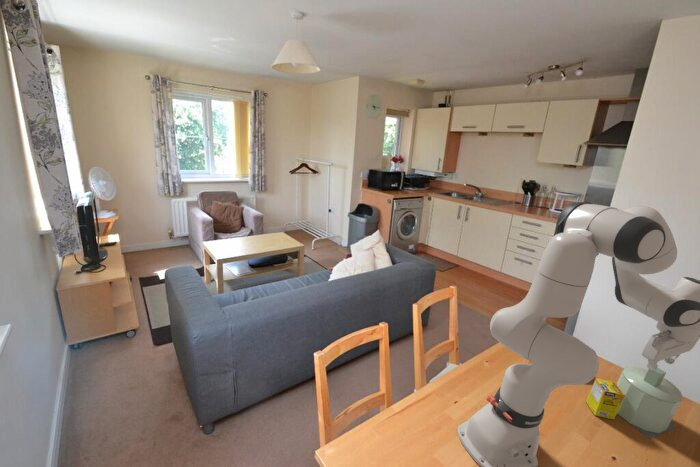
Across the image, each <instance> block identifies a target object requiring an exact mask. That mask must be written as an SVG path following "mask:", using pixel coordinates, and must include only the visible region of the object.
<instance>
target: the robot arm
mask: <svg viewBox="0 0 700 467" xmlns="http://www.w3.org/2000/svg"><path fill="white" fill-rule="evenodd" d="M555 227H556V232H555V233H556V234H555V235H553V236H552V237H551V238H550V240H549V242H548V243H547V246H546V247H545V249H544V251H543V253H542V256H541V257H540V260H539V262H538V265H537V268H536V271H535V274H534V277H533V280H532V283H531V284H530V288H529V290H528V292H527V293H526V295H525V297H524V298H523V299H522V300H521V301H520V302H518V303H516V304H515V305H512V306H508V307H503V308H501V309H498V310H497V311H496V312H495V313H494V314H493V316H492V317H491V320H490V323H489V328H490V329H489V330H490V334H491V336H492V337H493V338H494V339H495V340H497V341H498V343H500V344H501V345H502V346H504V347H505V348H506V349H508V350H509V351H512V352H513V353H515V354H517V355H518V356H520V357H522V358H523V359H525V360H527V361H528V362H529V363H531V364H529V363H514V364H511V365H510V366H508V367H507V369H506V370H505V372H504V375H503V379H502V381H501V385H500V386H499V388H498V389H497V390H496V392H495V394H494V396H493V395H492V394H488V395H487V397H486V399H485V400H486V401H487V402H488V403H487V404H485V405H484V406H483V407H482V408H480V409H479V410H478V411H477V412H475V413H474V414H473V415H471V417H470V418H469V419H468V420H466V421H465V422H463V423H460V424H459V425H458V427H457V429H456V431H457V435H458V436H457V437H458V438H459V440H460V442H461V444H462V446H463V447H464V449H465V450H466V452H467V453H468V454H469V456H470V457H471V458H472V459H473V460H474V461H475V462H476V463H477V464H478V465H479V466H480V467H538V465H539V460H538V458H537V454H538V449H539V444H540V439H541V434H540V424H541V423H542V420H543V418H544V415H545V406H546V403H547V401H548V398H549V397H550V395H551V393H553V391H554V390H556V389H557V388H560V387H563V386H581V385H586V384H588V383H590V382H592V381H593V380H595V378H596V377H597V375H598V372H599V370H600V369H599V368H600V360H599V356H598V354H597V352H596V350H594V349H593V348H592V347H590V346H589V345H587V344H586V343H585V342H583V341H582V340H580V339H579V338H577V337H576V336H573V335H572V334H569V333H567V332H565V331H563V330H561V329H559V328H557V327H555V326H553V325H550V324H549V323H547V322H546V319H547V318H558V319H562V318H568V317H572V316H574V315H576V314H577V313H578V312H579V311H580V309H581V307H582V304H583V301H584V298H585V296H586V293H587V290H588V288H589V285H590V284H591V283H590V282H591V280H592V275H593V272H594V269H595V262H596V258H597V257H599V255H604V256H607V257H610V258H611V264H612V269H613V277H614V280H615V286H614V296H615V298H616V300H617V302H618V303H620V304H622V305H624V306H626V307H629V308H631V309H634V310H635V311H637V312H639V313H640V314H643V315H645V316H646V317H648V318H651V319H652V320H654V321H657V324H655V327H656V329H657V330H658V331H659V332H658V333H655V334H652V335H651V336H650V337H649V338H648V340H647V341H646V343H645V345H644V347H643V349H642V351H641V355H642V357H643V358H645V359H647V365H646V368H647V369H651V370H655V369H656V368H658V366H659V365H658V363H659V362H661V361H663V360H664V362H665V363H667V364H668V365H673V364H674V363H675V362H676V360H677V359H678V358H679V357H680V356H681V355H682V354H685V353H688V352H691V350H693V349H694V347H695V345H696V344H697V342H698V341H699V340H700V280H699V279H697V278H693V277H688V276H683V277H681V278H680V279H679V280H678V281H677V283H676V285H675V287H674V288H671V289H669V288H667V287H665V286H662V285H660V284H657V283H655V282H653V281H651V280H649V279H647V278H645V277H643V276H642V275H654V274H658V273H661V272H665V270H668V269H669V268H670V267H672V266H673V265H674V263H675V262H676V260H677V258H678V248H677V244H676V241H675V238H674V235H673V232H672V230H671V228H670V226H669V225H668V222H667V220H665V218H664V217H663V215H662V214H661V213H660V212H659V211H658V210H657V209H655V208H652V207H649V206H645V205H637V206H635V205H634V206H631V207H627V208H625V209H623V210H621V209H619V208H616V207H613V206H608V205H604V204H603V205H602V204H594V203H592V202H588V201H576V202H572V203H569V204H568V205H567V206H566V207H564V208H563V209H562V210H561V212H560V213H559V215H558V217H557V219H556V226H555Z"/></svg>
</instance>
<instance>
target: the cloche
mask: <svg viewBox="0 0 700 467" xmlns="http://www.w3.org/2000/svg"><path fill="white" fill-rule="evenodd" d="M666 374H667V372H666V371H664V370H663V369H661V368H659V367H657V368H656V369H655V370H651V369H649V368H647V369H645V368H642V367H636V366H628V367H625V368H624V369H622V371H621V374H620V376H619V378H618V380H617V382H616V384H617V385H618V387H619V388H620V389H621V391H622V392H623V393H624V394H625V397H624V399H623V401H622V404H621V406H620V408H619V410H618V413H617V414H619V415H620V416H621V417H623V418H624V419H625V420H627V421H628V422H629V423H631V424H633V425H635V426H637V427H639V428H641V429H643V430H646V431H650V432H656V433H661V432H663V431H665V430H666V429H667V428H668V426H669V424H670V422H672V420H673V418H674V417H675V414H676V412H677V410H678V409H679V407H680V405H681V403H682V399H683V394H682V391H681V390H680V389H679V388H678V387H677V386H676V385H674V384H673V383H672V382H671V381H669V380H668V379H666V378H665V376H666ZM619 415H618V416H619ZM620 416H619V417H620ZM621 417H620V418H621ZM623 418H622V419H623ZM624 419H623V420H624ZM625 420H624V421H625ZM627 421H626V422H627ZM628 422H627V423H628ZM629 423H628V424H629ZM631 424H630V425H631Z"/></svg>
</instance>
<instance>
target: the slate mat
mask: <svg viewBox="0 0 700 467" xmlns="http://www.w3.org/2000/svg"><path fill="white" fill-rule="evenodd" d="M616 416H619V417H620V418H621V419H623V420H624V421H625V422H626V423H628V424H629V425H630V426H632V427H633V428H634V429H635V430H637V431H638V432H640V433H641V434H642V435H644V436H645V437H646V438H648V440H652V439H654V438H656V437H658V436H661V435H663V434H665V433H667V432H670V431H671V430H674V429H676V428H678V425H676V424H675V423H673V422H672V421H671V422H670V424H669V426H668V428H667V429H666V430H665V431H663V432H661V433H656V432H650V431H646V430H643V429H641V428H639V427H637V426H635V425H633V424H631V423H629V422H628V421H627V420H625V419H624V418H623V417H621V416H620V415H619V414H617V415H616Z"/></svg>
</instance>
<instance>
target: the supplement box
mask: <svg viewBox="0 0 700 467" xmlns="http://www.w3.org/2000/svg"><path fill="white" fill-rule="evenodd" d="M624 397H625V394H624V393H623V392H622V391H621V389H620V388H619V387H618V385H617V382H616V381H613V380H612V381H611V380H607V379H603V378H597V377H595V378H594V381H593V383H592V386H591V389H590V391H589V393H588V396H587V398H586V401H585V403H586V405H587V406H588V408H589V410H590V411H591V413H592V414H593V416H594V417H598V418H602V419H607V420H611V421H615V419H616V416H618V415H617V413H618V410H619V408H620V406H621V404H622V401H623V399H624Z"/></svg>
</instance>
